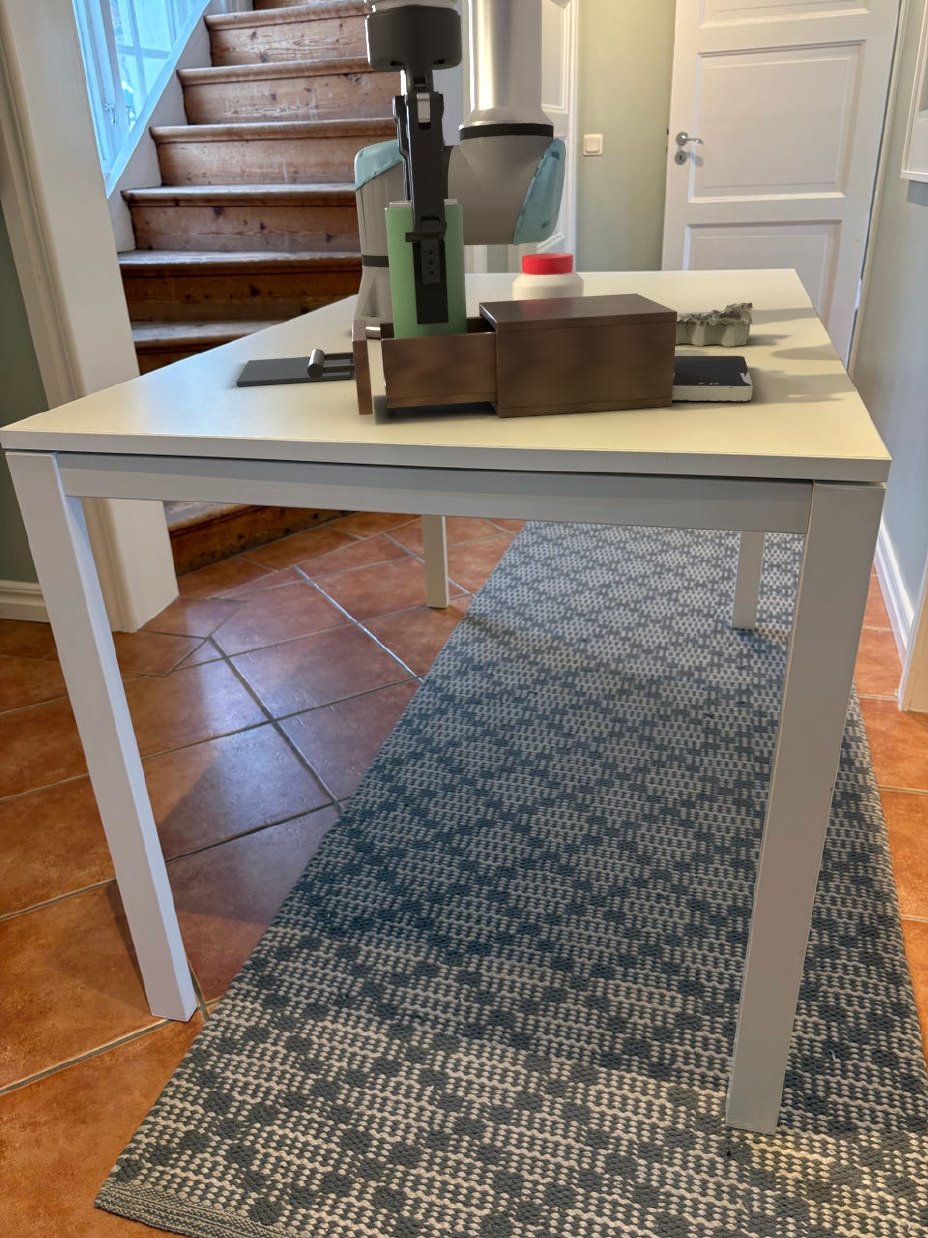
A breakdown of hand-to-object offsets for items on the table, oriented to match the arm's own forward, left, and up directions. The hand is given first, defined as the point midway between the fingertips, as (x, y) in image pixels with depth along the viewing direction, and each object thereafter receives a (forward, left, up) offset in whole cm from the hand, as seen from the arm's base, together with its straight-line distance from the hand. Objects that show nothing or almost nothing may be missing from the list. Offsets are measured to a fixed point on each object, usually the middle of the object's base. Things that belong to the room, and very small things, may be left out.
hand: (429, 316), depth 81 cm
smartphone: (-1, +27, -8) cm, 28 cm away
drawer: (0, -2, -7) cm, 7 cm away
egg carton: (-23, +34, -8) cm, 42 cm away
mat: (-20, -14, -8) cm, 26 cm away
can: (0, 0, -6) cm, 6 cm away
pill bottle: (-17, +14, -8) cm, 23 cm away
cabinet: (0, +13, -8) cm, 15 cm away
